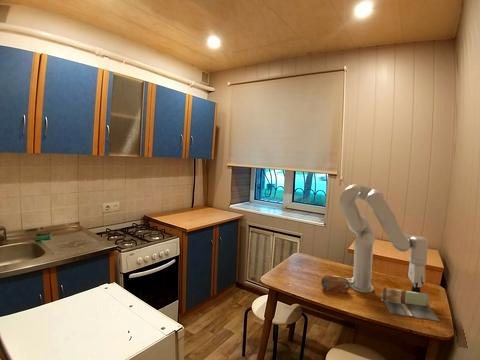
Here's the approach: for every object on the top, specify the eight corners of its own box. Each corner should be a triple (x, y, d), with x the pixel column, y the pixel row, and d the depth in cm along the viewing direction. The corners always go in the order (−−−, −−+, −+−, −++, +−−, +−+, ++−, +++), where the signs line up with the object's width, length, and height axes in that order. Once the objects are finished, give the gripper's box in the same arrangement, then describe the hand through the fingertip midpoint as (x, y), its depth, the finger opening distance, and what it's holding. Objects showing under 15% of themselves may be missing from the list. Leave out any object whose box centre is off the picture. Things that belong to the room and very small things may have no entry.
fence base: (386, 313, 130) (387, 299, 130) (378, 293, 148) (379, 281, 148) (439, 321, 124) (441, 307, 123) (424, 300, 142) (425, 287, 142)
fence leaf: (406, 303, 138) (406, 291, 137) (405, 301, 139) (406, 290, 139) (428, 306, 135) (429, 294, 134) (427, 305, 136) (428, 293, 136)
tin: (321, 289, 153) (321, 274, 152) (321, 286, 156) (322, 272, 155) (349, 294, 148) (350, 279, 147) (349, 291, 151) (350, 277, 150)
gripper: (405, 254, 148) (403, 286, 150) (414, 265, 134) (412, 300, 135) (420, 256, 146) (418, 288, 147) (432, 266, 131) (429, 302, 133)
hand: (415, 293), depth 141 cm, fingers closed
